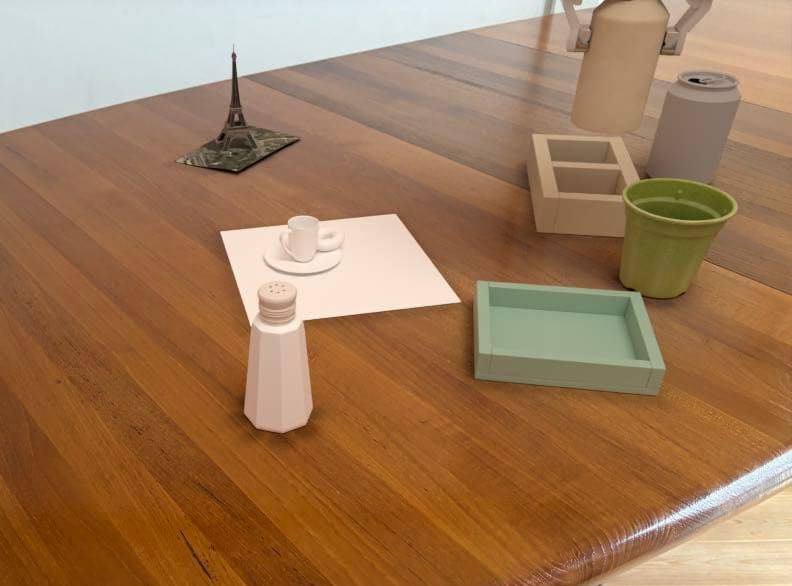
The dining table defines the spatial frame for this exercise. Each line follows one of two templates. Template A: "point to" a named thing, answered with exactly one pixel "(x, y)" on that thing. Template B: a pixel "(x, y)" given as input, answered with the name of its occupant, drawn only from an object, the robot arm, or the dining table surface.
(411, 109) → the dining table surface
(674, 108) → the can
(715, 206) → the plant pot
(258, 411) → the pepper shaker
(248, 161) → the eiffel tower figurine
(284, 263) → the teacup and saucer
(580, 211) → the holder
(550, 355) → the tray
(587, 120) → the candle
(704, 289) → the dining table surface
